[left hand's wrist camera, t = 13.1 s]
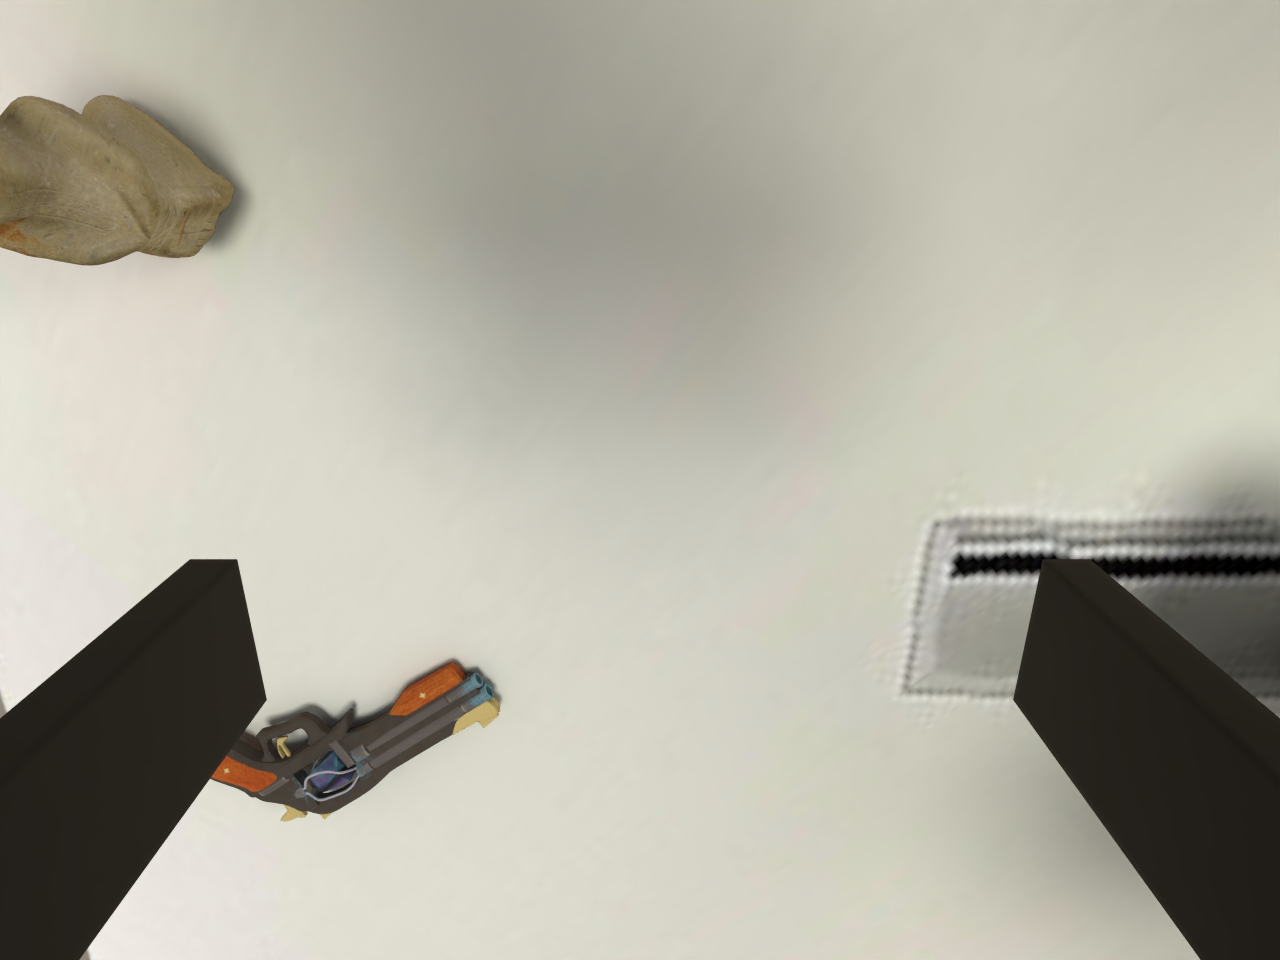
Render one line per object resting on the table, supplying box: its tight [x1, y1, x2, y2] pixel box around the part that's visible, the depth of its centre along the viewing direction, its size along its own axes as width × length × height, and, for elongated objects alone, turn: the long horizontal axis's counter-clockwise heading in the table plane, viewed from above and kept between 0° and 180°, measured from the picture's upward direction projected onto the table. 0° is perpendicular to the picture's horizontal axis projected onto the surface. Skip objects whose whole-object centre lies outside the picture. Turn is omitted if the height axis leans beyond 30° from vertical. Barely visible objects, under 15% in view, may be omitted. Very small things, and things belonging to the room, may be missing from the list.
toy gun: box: [210, 663, 501, 821], centre depth 47 cm, size 3×19×10 cm
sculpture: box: [0, 95, 234, 265], centre depth 30 cm, size 6×7×15 cm
